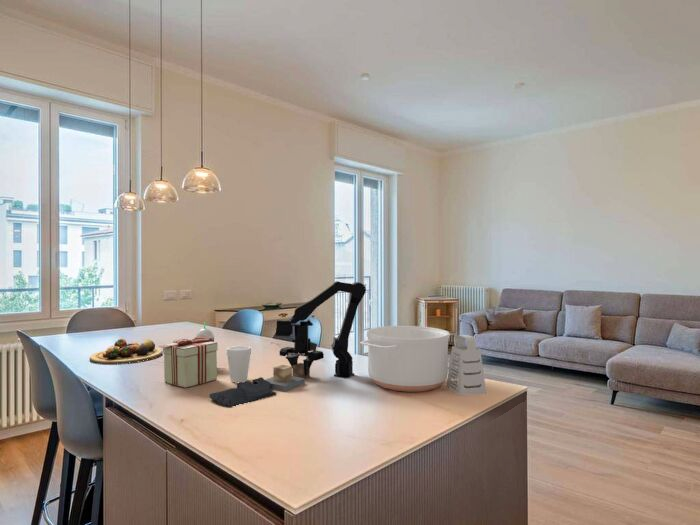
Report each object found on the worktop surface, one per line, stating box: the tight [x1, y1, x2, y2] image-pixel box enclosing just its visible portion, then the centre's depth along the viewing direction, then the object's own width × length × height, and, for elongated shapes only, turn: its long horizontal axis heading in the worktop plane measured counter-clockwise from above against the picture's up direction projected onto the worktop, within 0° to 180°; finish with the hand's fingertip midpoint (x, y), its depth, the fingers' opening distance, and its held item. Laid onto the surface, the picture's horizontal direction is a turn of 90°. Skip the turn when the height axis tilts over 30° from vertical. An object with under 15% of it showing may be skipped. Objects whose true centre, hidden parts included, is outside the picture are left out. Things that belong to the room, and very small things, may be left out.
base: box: [265, 375, 306, 393], centre depth 166 cm, size 12×12×2 cm
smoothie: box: [194, 321, 215, 342], centre depth 193 cm, size 8×8×20 cm
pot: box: [359, 325, 451, 393], centre depth 168 cm, size 42×32×20 cm
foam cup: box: [226, 345, 252, 383], centre depth 172 cm, size 10×9×13 cm
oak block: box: [272, 364, 293, 382], centre depth 166 cm, size 5×5×5 cm
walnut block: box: [292, 362, 311, 379], centre depth 177 cm, size 5×5×5 cm
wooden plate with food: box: [89, 338, 163, 365], centre depth 214 cm, size 32×32×8 cm
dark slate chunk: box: [208, 376, 277, 408], centre depth 152 cm, size 15×22×5 cm
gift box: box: [158, 336, 219, 389], centre depth 171 cm, size 17×18×17 cm
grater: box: [445, 334, 487, 396], centre depth 160 cm, size 10×10×20 cm
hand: (301, 374), depth 177 cm, fingers closed on walnut block, 5 cm apart
